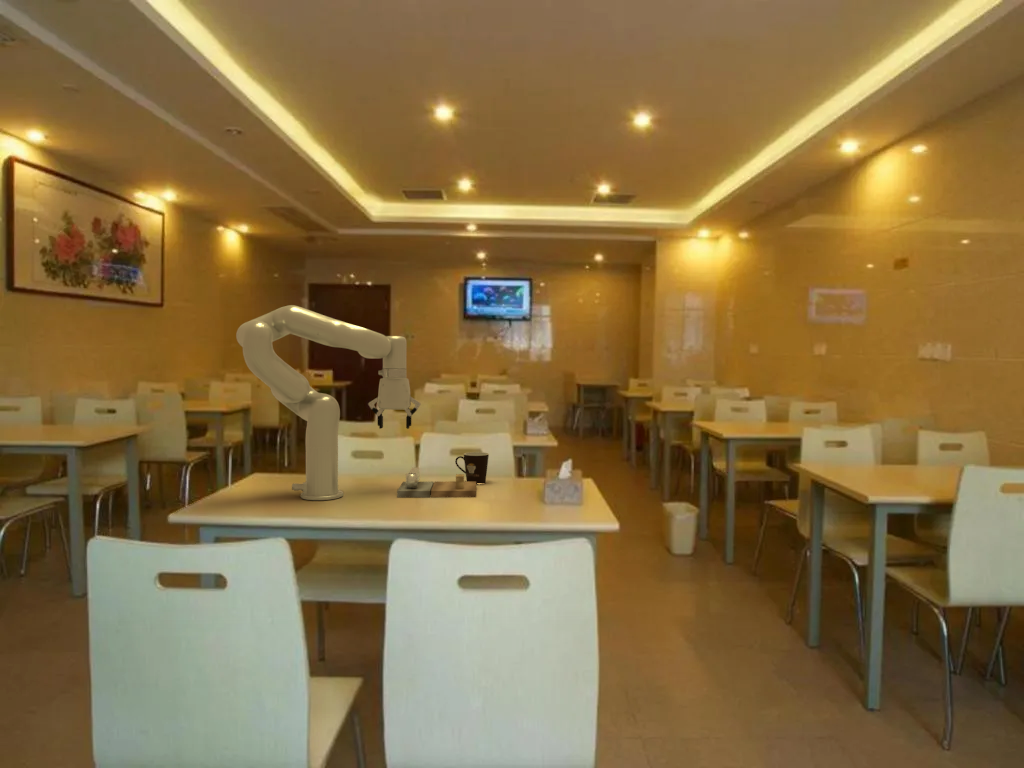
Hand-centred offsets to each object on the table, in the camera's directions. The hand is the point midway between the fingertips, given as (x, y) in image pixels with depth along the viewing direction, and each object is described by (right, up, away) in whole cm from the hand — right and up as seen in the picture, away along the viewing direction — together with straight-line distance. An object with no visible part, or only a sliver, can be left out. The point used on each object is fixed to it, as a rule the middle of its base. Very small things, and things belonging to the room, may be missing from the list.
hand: (394, 428), depth 223 cm
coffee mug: (+25, -20, +14) cm, 35 cm away
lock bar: (+6, -18, -2) cm, 19 cm away
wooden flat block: (+15, -20, -4) cm, 25 cm away
